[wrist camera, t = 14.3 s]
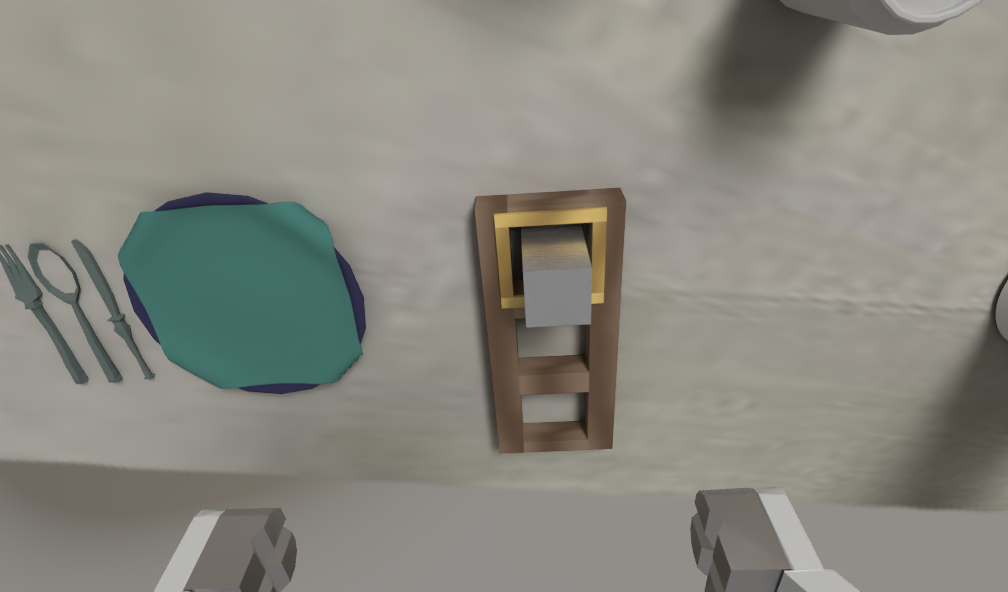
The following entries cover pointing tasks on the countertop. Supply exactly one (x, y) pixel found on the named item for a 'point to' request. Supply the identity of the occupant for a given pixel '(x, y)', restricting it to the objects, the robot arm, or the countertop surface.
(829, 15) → the can
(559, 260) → the steel block
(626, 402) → the countertop surface
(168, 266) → the cutlery set
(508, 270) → the walnut rail
